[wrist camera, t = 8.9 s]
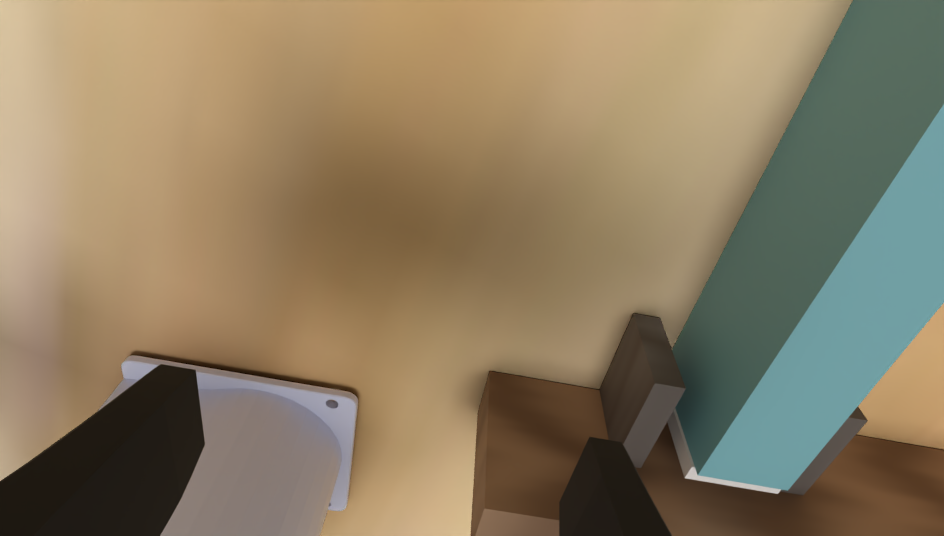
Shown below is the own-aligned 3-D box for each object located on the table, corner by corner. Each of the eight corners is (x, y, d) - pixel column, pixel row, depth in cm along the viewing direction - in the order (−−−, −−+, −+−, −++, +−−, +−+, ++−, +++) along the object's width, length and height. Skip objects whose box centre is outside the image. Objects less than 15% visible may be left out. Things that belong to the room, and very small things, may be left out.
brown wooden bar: (477, 413, 23) (469, 551, 18) (512, 291, 20) (513, 422, 15) (921, 488, 25) (1027, 638, 20) (1029, 385, 21) (1192, 537, 16)
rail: (653, 375, 22) (686, 486, 18) (862, -35, 14) (1011, -8, 10) (730, 389, 22) (781, 502, 18) (979, -8, 14) (1175, 29, 10)
